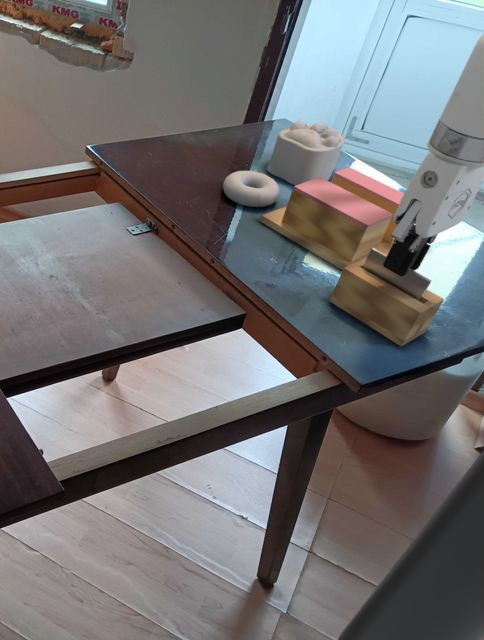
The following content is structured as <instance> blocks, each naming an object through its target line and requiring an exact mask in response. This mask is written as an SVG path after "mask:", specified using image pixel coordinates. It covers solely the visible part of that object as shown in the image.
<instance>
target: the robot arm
mask: <svg viewBox="0 0 484 640" xmlns="http://www.w3.org/2000/svg"><path fill="white" fill-rule="evenodd" d="M426 146H427V148H428V150H429V151H428V152H427V153H426V155H425V157H424V159H423V160H422V161H421V163H420V165H419V167H418V169H417V170H416V172H415V174H414V175H413V177H412V179H411V180H410V183H409V185H408V186H407V188H406V190H405V192H404V196H403V197H402V199H401V201H400V204H399V206H398V208H397V210H396V213H395V215H394V223H395V224H398V225H397V227H396V228H395V230H394V231H393V233H392V234H391V237H392V238H394V241H393V245H392V247H391V249H390V251H389V253H388V255H387V257H386V259H385V261H384V263H383V266H384V267H385V268H387V269H389V270H390V271H392V272H394V273H396V274H397V275H399V276H401V277H402V276H405V275H406V274H407V272H408V270H409V268H410V269H412V270H414V271H417V270H419V268H420V266H421V265H422V264H423V261H424V260H425V258H426V256H427V253H428V251H429V250H430V248H431V245H432V244H433V243H434V242H435V240H436V239H437V236H438V235H439V234H440V233H443V232H445V231H447V230H449V229H450V228H453V227H456V226H457V225H458V224H460V223H462V221H463V220H464V219H465V218H466V216H467V214H468V212H469V211H470V208H471V206H472V205H473V202H474V201H475V199H476V196H477V194H478V192H479V190H480V188H481V186H482V184H483V182H484V33H482V34H481V35H480V37H479V38H478V39H477V41H476V43H475V45H474V47H473V49H472V51H471V53H470V55H469V57H468V59H467V61H466V63H465V65H464V68H463V70H462V72H461V74H460V76H459V78H458V80H457V82H456V84H455V86H454V88H453V90H452V93H451V94H450V97H449V99H448V101H447V102H446V104H445V107H444V109H443V111H442V113H441V115H440V117H439V118H438V121H437V123H436V125H435V127H434V129H433V131H432V132H431V135H430V137H429V139H428V141H427V144H426ZM409 231H410V232H412V233H414V234H416V236H415V237H414V239H413V236H412V235H410V234H408V232H409ZM428 237H429V239H428V240H427V242H426V244H425V246H424V248H423V249H422V251H421V253H420V255H419V257H418V258H417V260H416V262H415V264H414V266H412V267H410V266H411V264H412V263H413V261H414V259H415V257H416V255H417V253H418V251H416V249H417V247H418V245H419V244H420V242H421V240H422V238H428Z"/></svg>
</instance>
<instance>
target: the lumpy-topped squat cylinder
mask: <svg viewBox="0 0 484 640" xmlns="http://www.w3.org/2000/svg"><path fill="white" fill-rule="evenodd" d="M344 142H345V139H344V136H343V135H342V133H340V132H339V131H338V129H336V128H335V127H329V126H326V125H325V124H324V123H322V122H317V123H314V124H308V123H305V122H303V121H301V120H299V121H298V120H297V121H295V122H293V123H292V125H290V127H287V128H285V129H283V130H281V131H279V132H278V135H277V138H276V140H275V144H274V146H273V149H272V152H271V157H270V159H269V162H268V165H267V169H266V170H267V172H268V173H270V174H271V175H273V176H275V177H278V178H281V179H282V180H284V181H286V182H287V183H289V184H290V185H292V186H293V185H294V186H296V185H299V184H302V183H304V182H307V181H310V180H313V179H316V178H319V177H321V178H323V179H325V180H327V181H329V180H330V179H331V177H332V174H333V172H334V169H335V167H336V164H337V161H338V159H339V157H340V154H341V151H342V149H343V147H344Z"/></svg>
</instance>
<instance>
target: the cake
mask: <svg viewBox="0 0 484 640" xmlns="http://www.w3.org/2000/svg"><path fill="white" fill-rule="evenodd" d="M393 215H394V214H392V213H390V212H388V211H386V210H384V209H382V208H380V207H378V206H376V205H374V204H372V203H370V202H368V201H367V200H365V199H363V198H361V197H359V196H357V195H355V194H353V193H351V192H349V191H347V190H345V189H343V188H341V187H339V186H337V185H335V184H333V183H331V181H329V180H328V181H327V180H325V179H323V178H321V177H319V178H316V179H313V180H310V181H307V182H304V183H302V184H299V185H294V186H293V188H292V191H291V193H290V196H289V199H288V202H287V205H286V206H284V207H280V208H278V209H275V210H273V211H270V212H267V213H265V214H262V215H261V217H260V221H259V222H260V223H262V224H263V225H265V226H267V227H268V228H270V229H272V230H273V231H275V232H277V233H279V234H280V235H282V236H284V237H286V238H287V239H288V240H291V241H293V242H295V243H296V244H297V245H298V246H300V247H303V248H304V249H305V250H307V251H310V252H311V253H313V254H315V255H316V256H318V257H319V258H321V259H323V260H325V261H326V262H328V263H330V264H331V265H333V266H334V267H336V268H338V269H340V270H341V271H343V269H344V268H345V267H347V266H349V265H351V264H353V263H356V262H358V261H360V260H362V259H364V258H366V257H368V255H369V253H370V251H371V249H372V248H375V249H377V250H379V251H381V252H382V253H384V254H386V255H388V253H389V251H390V249H391V247H392V245H393V243H392V244H390V243H389V242H387V241H385V240H383V239H382V238H383V236H384V234H385V232H386V230H387V227H388V225H389V223H390V221H391V219H392V217H393Z"/></svg>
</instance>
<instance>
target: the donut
mask: <svg viewBox="0 0 484 640" xmlns="http://www.w3.org/2000/svg"><path fill="white" fill-rule="evenodd" d="M222 188H223V192H224V194H225V195H226V196H227V198H228V199H230V200H231V201H233V202H234V203H236V204H239V205H241V206H245V207H249V208H266V207H268V206H271V205H272V204H274V203H275V202H276V201H277V200H278V198H279V195H280V191H281V190H280V187H279V185H278V182H276V181H275V180H274V179H273V178H272V177H270V176H268V175H267V174H264V173H261V172H259V171H255V170H238V171H237V170H236V171H234V172H232V173H230V174H229V175H227V176H226V177H225V179H224V181H223V184H222Z"/></svg>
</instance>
